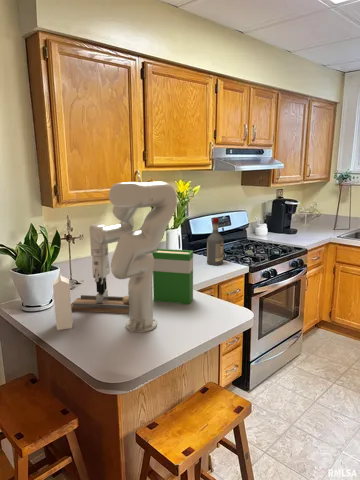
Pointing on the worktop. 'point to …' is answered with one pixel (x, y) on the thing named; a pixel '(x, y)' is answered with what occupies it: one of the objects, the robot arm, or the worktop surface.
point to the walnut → (126, 300)
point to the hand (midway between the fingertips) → (101, 290)
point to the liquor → (215, 246)
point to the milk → (62, 303)
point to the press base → (100, 305)
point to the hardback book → (173, 276)
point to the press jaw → (102, 296)
